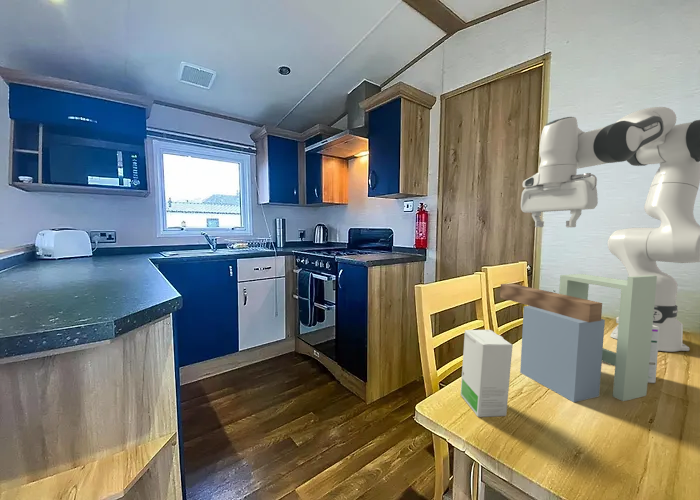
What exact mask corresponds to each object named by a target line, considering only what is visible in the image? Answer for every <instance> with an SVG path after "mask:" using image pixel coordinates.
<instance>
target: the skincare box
mask: <svg viewBox="0 0 700 500" xmlns="http://www.w3.org/2000/svg"><path fill="white" fill-rule="evenodd" d="M513 347H514V346H513V343H511V342H509V341H507V340H506V339H504V337H503V336H502V335H500V334H497V333H496V332H495V331H493V330H492V329H467V330H466V329H465V330H464V339H463V352H462V353H463V354H462V355H463V356H462V366H461V367H462V369H461V370H462V371H461V381H460V383H461V384H460V397H462V399H463V400H464V402H465V403H466V404H467V405H468V406H469V408H470V409H471V410H472V412H474V413H475V416H476V417H478V418H490V417H493V418H495V417H507V414H508V413H507V411H508V400H509V390H510V388H509V387H510V378H511V367H512V366H511V365H512V355H513V354H512V353H513Z"/></svg>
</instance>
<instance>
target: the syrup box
mask: <svg viewBox="0 0 700 500" xmlns="http://www.w3.org/2000/svg"><path fill="white" fill-rule="evenodd" d="M658 342H659V327H657V326H654V325H653V327H652V338H651V349H650V360H649V371H648V383H649V384H656V379H657V367H658V353H659V350H658ZM648 383H647V384H648Z"/></svg>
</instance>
